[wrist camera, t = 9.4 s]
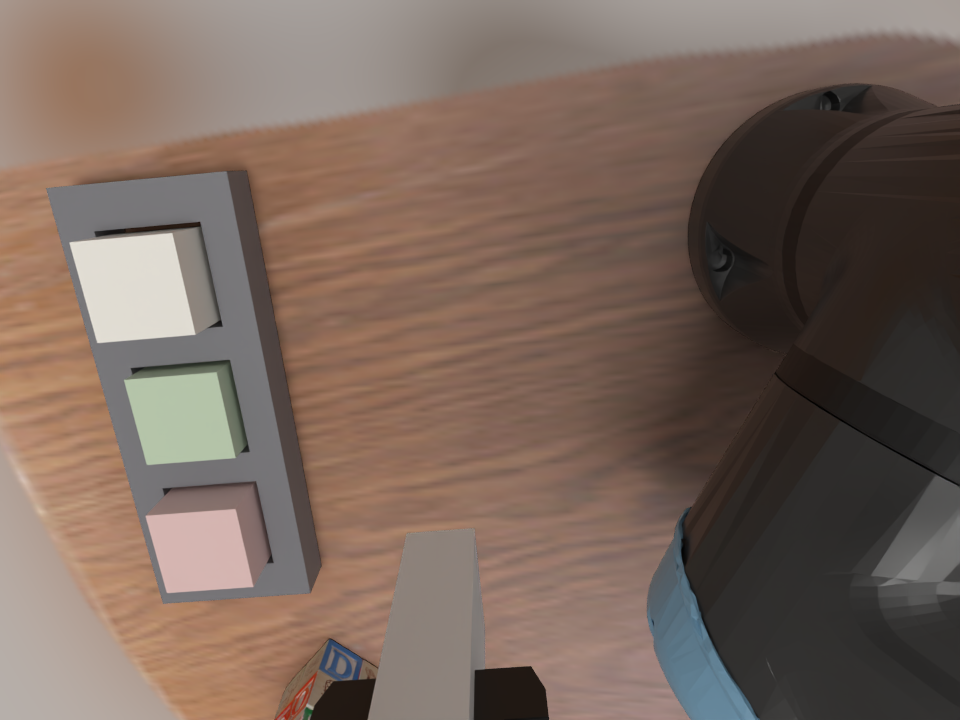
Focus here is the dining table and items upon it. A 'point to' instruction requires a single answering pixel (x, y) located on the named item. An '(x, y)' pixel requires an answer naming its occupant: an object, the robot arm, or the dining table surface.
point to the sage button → (187, 412)
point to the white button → (147, 284)
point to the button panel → (235, 338)
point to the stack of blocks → (321, 679)
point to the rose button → (210, 537)
